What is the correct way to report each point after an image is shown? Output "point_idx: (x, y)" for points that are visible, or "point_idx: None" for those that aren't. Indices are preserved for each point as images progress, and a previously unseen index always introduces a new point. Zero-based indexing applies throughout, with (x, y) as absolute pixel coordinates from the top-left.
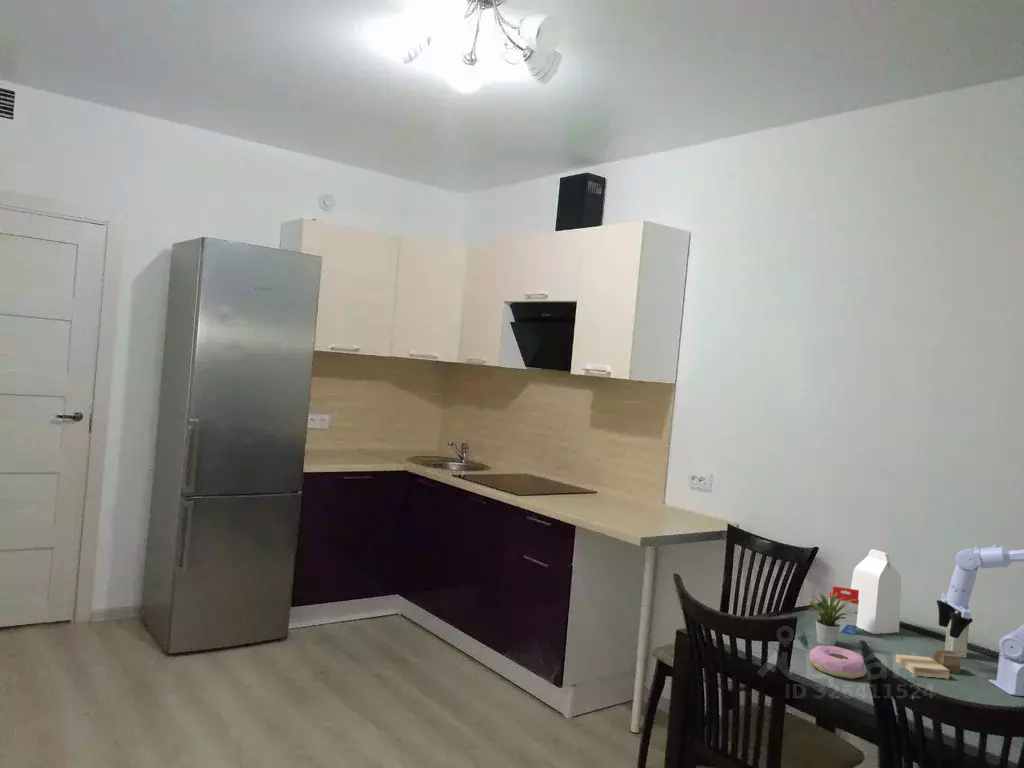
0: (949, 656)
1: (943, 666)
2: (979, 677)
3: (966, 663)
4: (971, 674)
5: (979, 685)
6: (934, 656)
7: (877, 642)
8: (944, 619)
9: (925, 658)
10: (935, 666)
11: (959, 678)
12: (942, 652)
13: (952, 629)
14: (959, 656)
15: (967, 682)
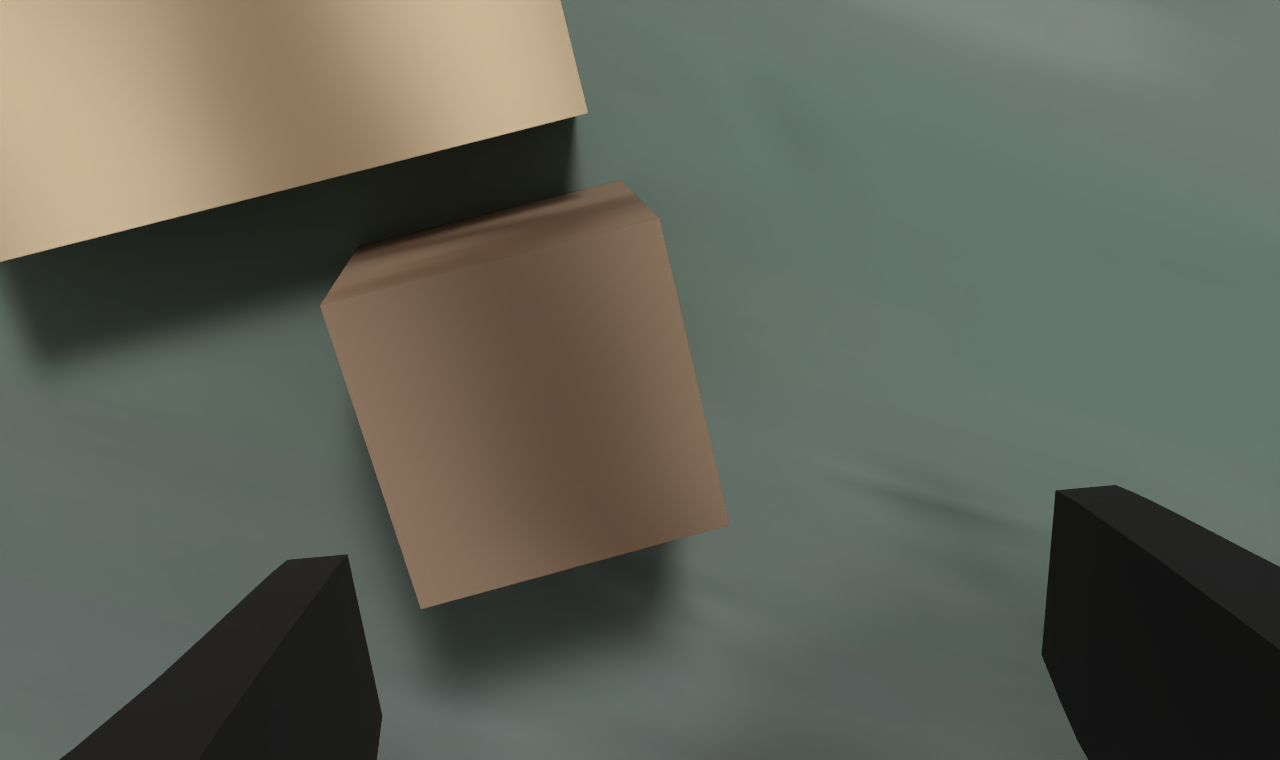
0: (357, 404)
1: (144, 221)
2: (419, 717)
3: (948, 701)
4: (494, 647)
5: (36, 629)
6: (613, 207)
7: None
8: (1157, 707)
9: (460, 4)
10: (34, 55)
11: (191, 429)
12: (505, 325)
13: (145, 697)
14: (431, 586)
15: (66, 497)
